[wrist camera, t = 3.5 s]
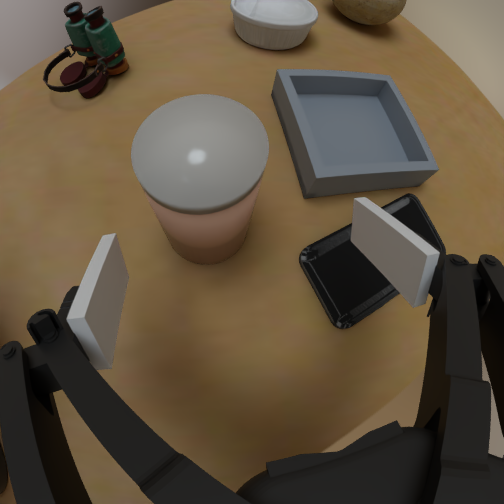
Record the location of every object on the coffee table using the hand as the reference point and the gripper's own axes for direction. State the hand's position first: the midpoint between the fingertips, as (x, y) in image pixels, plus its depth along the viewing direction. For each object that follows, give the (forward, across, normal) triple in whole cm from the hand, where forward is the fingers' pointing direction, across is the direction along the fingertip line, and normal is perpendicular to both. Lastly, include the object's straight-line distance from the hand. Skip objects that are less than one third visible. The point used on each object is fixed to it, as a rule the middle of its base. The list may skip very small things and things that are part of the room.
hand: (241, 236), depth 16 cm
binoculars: (+25, -14, +12) cm, 31 cm away
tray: (+15, +14, +2) cm, 21 cm away
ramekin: (+29, +10, +16) cm, 35 cm away
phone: (+7, +14, -8) cm, 17 cm away
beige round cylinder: (+10, -2, -3) cm, 11 cm away
